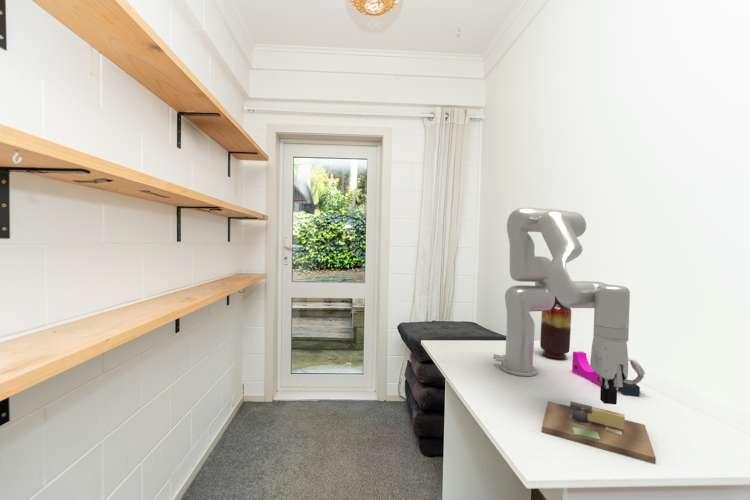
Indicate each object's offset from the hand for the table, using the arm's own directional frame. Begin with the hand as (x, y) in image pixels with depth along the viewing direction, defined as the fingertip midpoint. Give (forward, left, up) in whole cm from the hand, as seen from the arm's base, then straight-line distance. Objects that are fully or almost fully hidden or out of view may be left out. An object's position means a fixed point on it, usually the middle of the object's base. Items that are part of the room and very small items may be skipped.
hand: (608, 402), depth 90 cm
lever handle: (-6, -5, -4) cm, 9 cm away
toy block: (-2, +36, -7) cm, 36 cm away
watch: (+7, +29, -6) cm, 30 cm away
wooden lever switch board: (-3, -6, -6) cm, 9 cm away
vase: (-16, +56, -6) cm, 58 cm away
